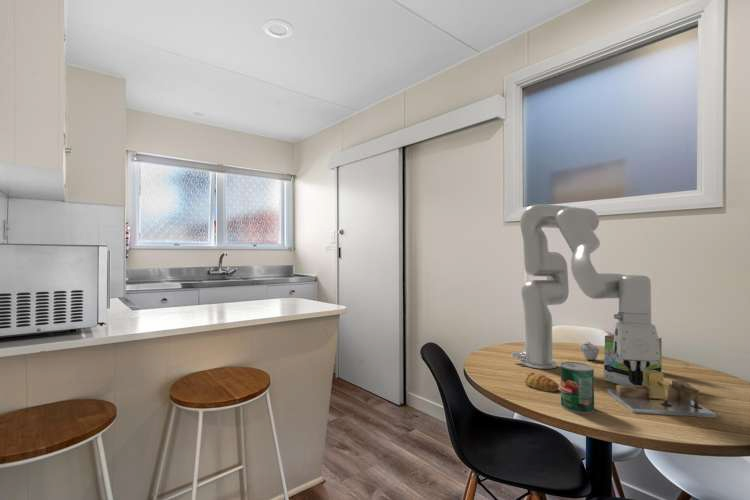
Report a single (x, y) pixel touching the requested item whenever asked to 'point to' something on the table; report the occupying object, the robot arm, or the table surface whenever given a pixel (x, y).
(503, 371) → the table surface
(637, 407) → the bolt plate
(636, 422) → the table surface
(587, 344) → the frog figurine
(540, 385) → the pastry
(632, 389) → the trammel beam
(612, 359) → the tea box
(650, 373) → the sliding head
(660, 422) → the table surface
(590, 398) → the canned tomato
